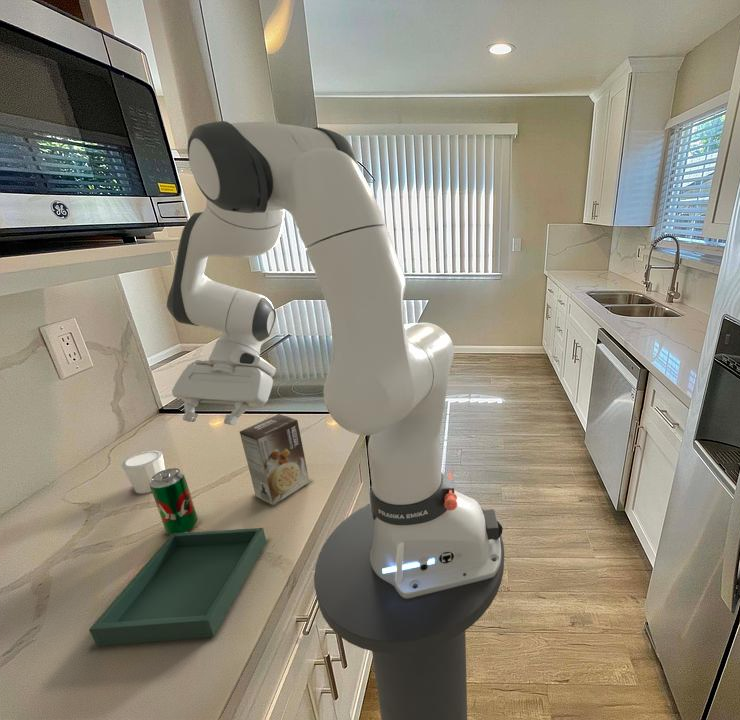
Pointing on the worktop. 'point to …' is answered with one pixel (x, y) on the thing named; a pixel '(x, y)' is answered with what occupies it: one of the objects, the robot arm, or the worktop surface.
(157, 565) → the tray
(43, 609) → the worktop surface
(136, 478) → the white cup
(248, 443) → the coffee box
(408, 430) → the robot arm
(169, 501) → the soda can
